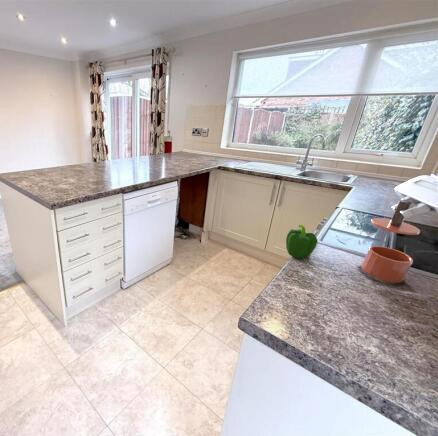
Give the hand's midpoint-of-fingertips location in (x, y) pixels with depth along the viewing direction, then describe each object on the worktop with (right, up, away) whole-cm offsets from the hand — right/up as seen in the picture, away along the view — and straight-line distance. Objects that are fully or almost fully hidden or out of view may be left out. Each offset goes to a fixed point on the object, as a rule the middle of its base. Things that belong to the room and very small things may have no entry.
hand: (397, 212), depth 68 cm
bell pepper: (-20, -14, +13) cm, 28 cm away
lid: (0, -4, +2) cm, 4 cm away
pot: (-1, -18, +4) cm, 19 cm away
